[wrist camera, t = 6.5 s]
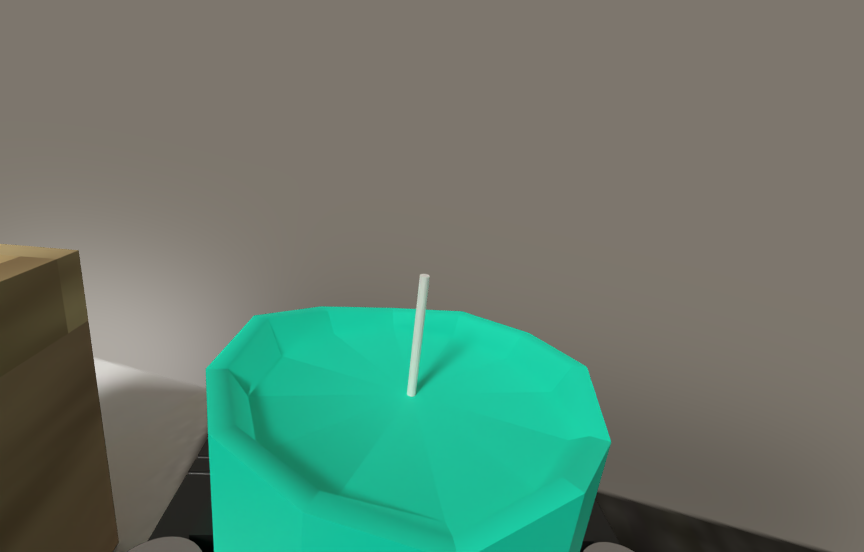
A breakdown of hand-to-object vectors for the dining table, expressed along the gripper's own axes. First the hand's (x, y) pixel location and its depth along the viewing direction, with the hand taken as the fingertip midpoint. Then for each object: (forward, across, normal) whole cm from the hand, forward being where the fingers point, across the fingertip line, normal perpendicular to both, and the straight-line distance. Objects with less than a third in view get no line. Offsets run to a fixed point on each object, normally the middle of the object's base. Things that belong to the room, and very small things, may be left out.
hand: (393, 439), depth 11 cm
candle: (-3, 0, +7) cm, 8 cm away
